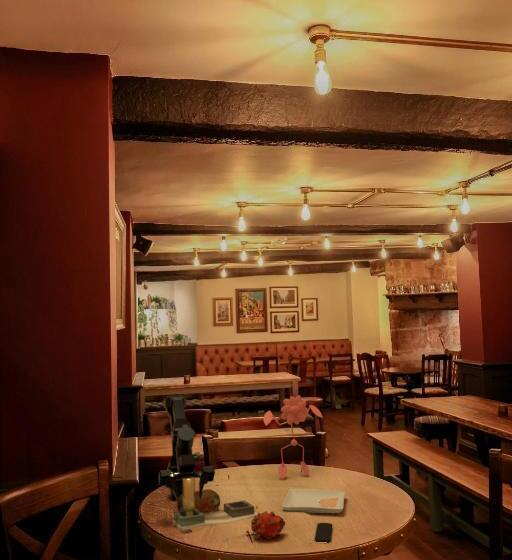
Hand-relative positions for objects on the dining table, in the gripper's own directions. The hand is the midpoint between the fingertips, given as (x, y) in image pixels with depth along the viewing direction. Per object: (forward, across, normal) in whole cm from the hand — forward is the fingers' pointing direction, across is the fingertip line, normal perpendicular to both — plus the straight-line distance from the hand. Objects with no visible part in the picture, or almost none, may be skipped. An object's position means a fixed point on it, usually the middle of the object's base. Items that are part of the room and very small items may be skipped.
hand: (189, 498), depth 189 cm
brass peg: (+4, 0, +6) cm, 8 cm away
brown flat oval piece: (-1, +4, +13) cm, 14 cm away
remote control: (+21, +39, -8) cm, 45 cm away
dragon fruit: (+19, +22, -6) cm, 30 cm away
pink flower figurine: (-24, +51, +37) cm, 67 cm away
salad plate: (+2, +46, +11) cm, 47 cm away
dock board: (+4, +10, +8) cm, 13 cm away
